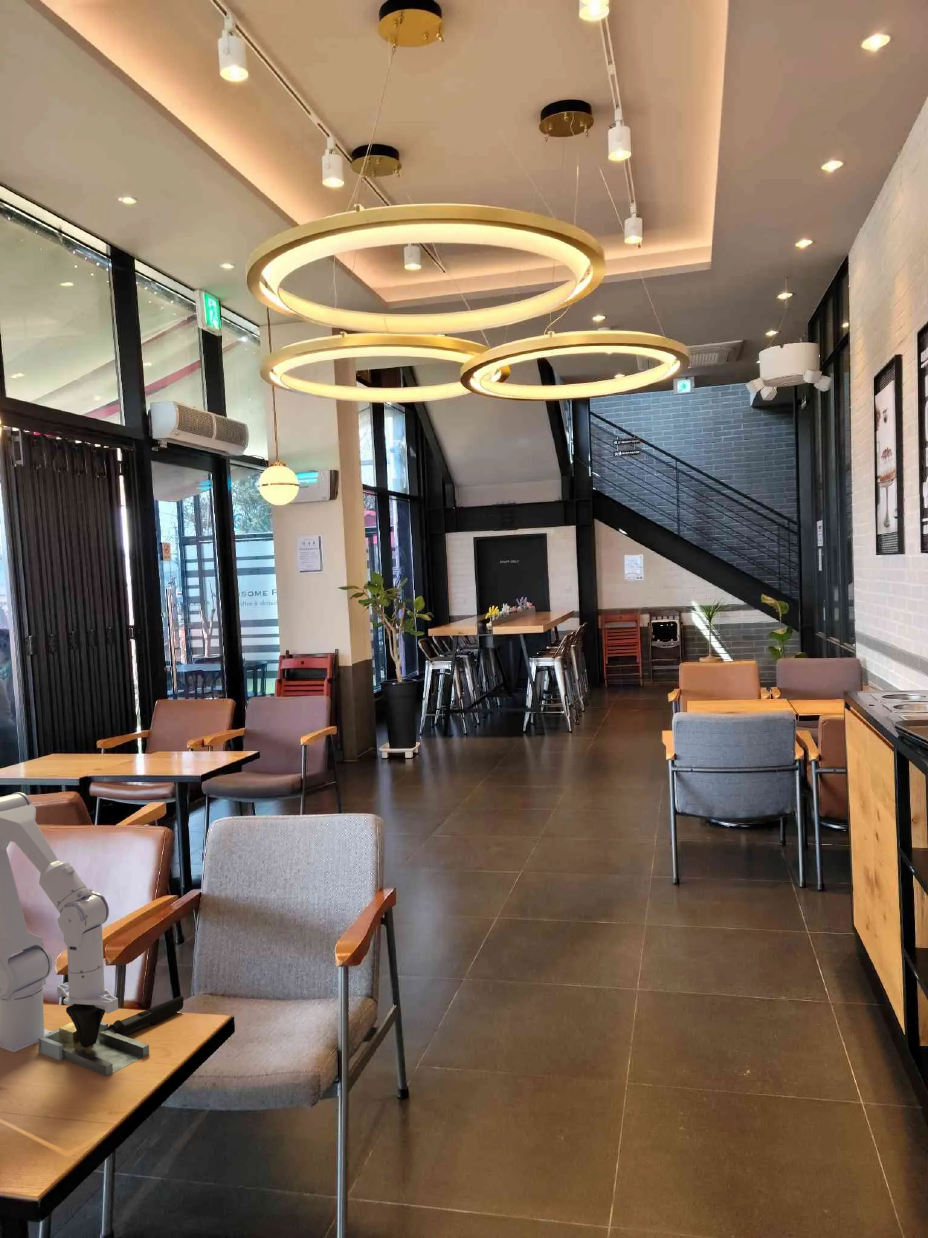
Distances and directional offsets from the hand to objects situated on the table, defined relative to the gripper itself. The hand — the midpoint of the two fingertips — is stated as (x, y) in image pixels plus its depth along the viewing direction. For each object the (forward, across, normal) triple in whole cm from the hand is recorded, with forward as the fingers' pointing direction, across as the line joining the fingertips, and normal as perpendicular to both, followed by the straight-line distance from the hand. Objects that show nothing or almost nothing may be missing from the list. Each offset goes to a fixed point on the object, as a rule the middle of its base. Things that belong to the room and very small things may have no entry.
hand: (88, 1044), depth 156 cm
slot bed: (+1, +5, 0) cm, 5 cm away
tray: (+1, -4, 0) cm, 5 cm away
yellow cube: (+1, -4, 0) cm, 4 cm away
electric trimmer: (+1, +1, +11) cm, 11 cm away
